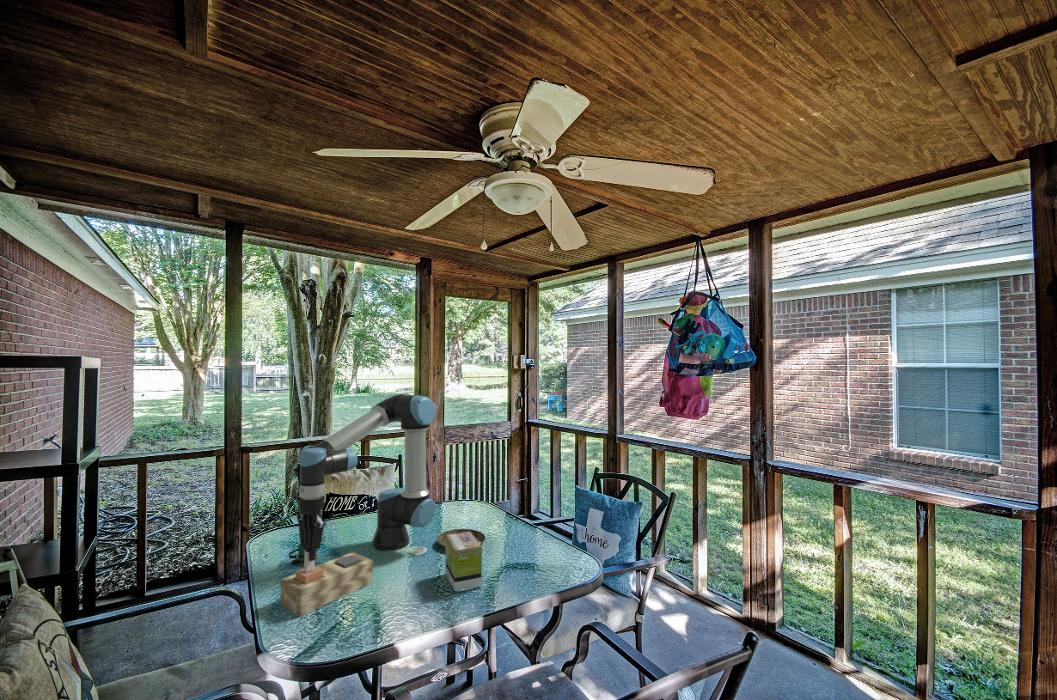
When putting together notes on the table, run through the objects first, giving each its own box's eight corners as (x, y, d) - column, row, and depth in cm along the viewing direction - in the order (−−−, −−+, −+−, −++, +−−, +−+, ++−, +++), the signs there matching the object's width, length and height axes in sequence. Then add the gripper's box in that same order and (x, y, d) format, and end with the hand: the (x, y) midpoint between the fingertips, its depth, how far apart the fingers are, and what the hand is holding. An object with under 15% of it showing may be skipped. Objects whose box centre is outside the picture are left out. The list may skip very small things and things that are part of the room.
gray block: (349, 577, 162) (350, 555, 162) (359, 582, 159) (360, 559, 159) (334, 584, 157) (334, 561, 157) (344, 589, 154) (345, 565, 154)
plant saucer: (494, 547, 193) (494, 540, 193) (450, 559, 181) (450, 551, 181) (471, 532, 209) (471, 525, 209) (429, 542, 197) (429, 534, 198)
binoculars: (298, 531, 181) (320, 531, 179) (299, 558, 181) (321, 558, 179) (282, 539, 172) (304, 539, 171) (283, 567, 172) (306, 568, 170)
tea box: (444, 574, 167) (445, 534, 168) (470, 569, 171) (471, 530, 172) (454, 593, 154) (455, 549, 154) (482, 588, 157) (483, 545, 158)
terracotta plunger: (312, 589, 150) (313, 564, 151) (322, 594, 147) (323, 569, 147) (294, 596, 145) (295, 571, 146) (304, 602, 142) (305, 576, 142)
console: (351, 574, 166) (352, 552, 166) (372, 583, 159) (373, 560, 160) (280, 604, 145) (281, 579, 145) (300, 616, 138) (301, 590, 138)
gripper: (289, 495, 148) (287, 568, 147) (312, 503, 140) (309, 579, 140) (311, 490, 154) (309, 560, 153) (334, 497, 147) (331, 571, 146)
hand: (309, 569), depth 146 cm, fingers closed
